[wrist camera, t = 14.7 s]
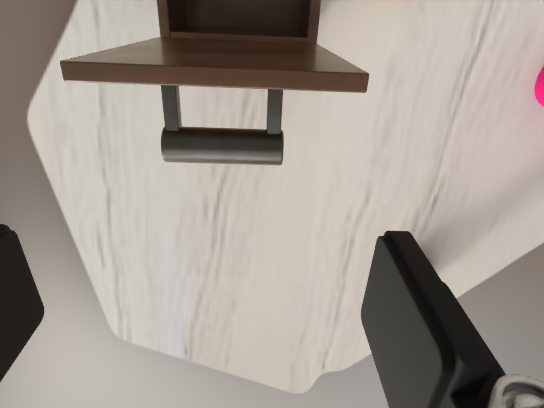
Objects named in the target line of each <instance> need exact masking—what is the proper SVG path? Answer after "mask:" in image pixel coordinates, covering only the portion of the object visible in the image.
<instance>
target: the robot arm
mask: <svg viewBox="0 0 544 408" xmlns="http://www.w3.org/2000/svg"><path fill="white" fill-rule="evenodd" d="M43 316H44V306H43V303H42V301H41V298H40V295H39V292H38V290H37V287H36V284H35V282H34V279H33V276H32V274H31V271H30V268H29V266H28V263H27V260H26V257H25V255H24V253H23V249H22V247H21V244H20V241H19V239H18V236H17V234H16V233H15V232H14V231H12V230H10V228H9V227H8V226H7V225H3V224H0V382H1V380H2V379H3V377H4V376H5V374H6V373H7V371H8V370H9V368H10V367H11V365H12V364H13V363H14V361H15V360H16V358H17V357H18V355H19V354H20V352H21V351H22V349H23V348H24V346H25V345H26V343H27V342H28V340H29V339H30V337H31V336H32V334H33V333H34V331H35V330H36V328H37V327H38V326H39V324H40V323H41V321H42V319H43ZM361 319H362V324H363V327H364V330H365V333H366V336H367V339H368V343H369V346H370V349H371V352H372V355H373V358H374V361H375V365H376V368H377V371H378V374H379V377H380V380H381V383H382V387H383V390H384V392H385V396H386V399H387V402H388V405H389V408H544V382H542V381H540V380H537V379H535V378H532V377H530V376H525V375H520V374H509V375H506V374H505V372H504V371H503V369H502V368H501V366H500V365H499V363H498V362H497V360H496V359H495V357H494V356H493V354H492V353H491V351H490V350H489V348H488V347H487V345H486V343H485V342H484V340H483V339H482V338H481V336H480V334H479V333H478V331H477V330H476V329H475V327H474V325H473V324H472V322H471V321H470V319H469V318H468V316H467V315H466V313H465V312H464V310H463V309H462V307H461V305H460V304H459V302H458V301H457V299H456V298H455V296H454V295H453V293H452V292H451V290H450V289H449V287H448V286H447V285H446V284H445V283H444V282H442V281H441V279H440V278H439V276H438V275H437V273H436V271H435V270H434V268H433V267H432V265H431V264H430V262H429V261H428V259H427V258H426V256H425V254H424V253H423V251H422V250H421V248H420V247H419V245H418V244H417V242H416V241H415V239H414V237H413V236H412V234H411V233H410V232H408V231H386V232H385V234H384V236H379V237H378V238H377V242H376V246H375V251H374V255H373V259H372V264H371V268H370V273H369V277H368V282H367V286H366V291H365V295H364V299H363V304H362V308H361Z"/></svg>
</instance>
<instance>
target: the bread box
mask: <svg viewBox="0 0 544 408" xmlns="http://www.w3.org/2000/svg"><path fill="white" fill-rule="evenodd" d="M320 3H321V0H157V6H158V16H159V26H160V36H161V37H168V38H191V39H214V40H237V41H260V42H283V43H306V44H317V35H318V24H319V14H320Z"/></svg>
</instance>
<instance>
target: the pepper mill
mask: <svg viewBox="0 0 544 408" xmlns="http://www.w3.org/2000/svg"><path fill="white" fill-rule="evenodd" d="M535 94H536V98H537V100H538V102H539V103H540V104H541V105H542V106H543V107H544V69H543V71H542V72H541V74H540V75H539V77H538V80H537V83H536V88H535Z"/></svg>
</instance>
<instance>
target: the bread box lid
mask: <svg viewBox="0 0 544 408" xmlns="http://www.w3.org/2000/svg"><path fill="white" fill-rule="evenodd" d="M60 65H61V70H62V74H63V79H64V81H69V82H95V83H122V84H148V85H161V91H162V101H163V111H164V121H165V127H164V128H163V131H162V135H161V151H162V156H163V159H164V161H166V162H185V163H219V164H253V165H282V161H283V146H284V135H283V131H282V130H281V117H282V98H283V90H305V91H332V92H358V93H365V92H366V91H367V86H368V79H369V73H367V72H365V71H363V70H362V69H360V68H358V67H356V66H355V65H353V64H351V63H349V62H348V61H346V60H344V59H342V58H341V57H339V56H337V55H335V54H334V53H332V52H330V51H328V50H327V49H325V48H323V47H321V46H319V45H318V44H306V43H283V42H260V41H237V40H214V39H191V38H168V37H158V38H154V39H150V40H146V41H141V42H137V43H133V44H129V45H125V46H121V47H116V48H112V49H108V50H104V51H100V52H96V53H91V54H87V55H83V56H79V57H75V58H70V59H66V60H62V61H60ZM179 86H200V87H227V88H253V89H268V100H267V129H266V130H265V129H235V128H205V127H182V124H181V111H180V98H179Z"/></svg>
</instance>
